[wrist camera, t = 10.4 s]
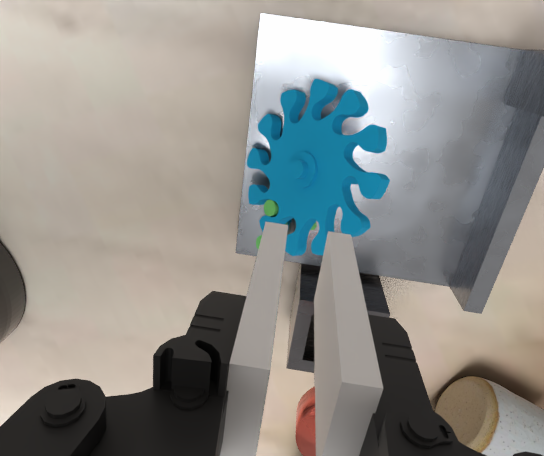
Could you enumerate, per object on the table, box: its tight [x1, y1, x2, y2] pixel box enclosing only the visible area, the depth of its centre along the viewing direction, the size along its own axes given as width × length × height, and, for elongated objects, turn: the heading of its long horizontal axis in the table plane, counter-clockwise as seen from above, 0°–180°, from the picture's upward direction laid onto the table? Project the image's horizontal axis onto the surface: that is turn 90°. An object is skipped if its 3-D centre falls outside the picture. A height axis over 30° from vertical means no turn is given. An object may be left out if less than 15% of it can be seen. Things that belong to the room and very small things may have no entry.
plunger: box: [296, 344, 316, 456], centre depth 25 cm, size 5×5×9 cm
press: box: [236, 13, 544, 373], centre depth 24 cm, size 18×22×14 cm
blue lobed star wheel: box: [246, 79, 390, 256], centre depth 25 cm, size 11×6×10 cm
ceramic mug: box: [435, 376, 544, 456], centre depth 34 cm, size 11×8×8 cm
